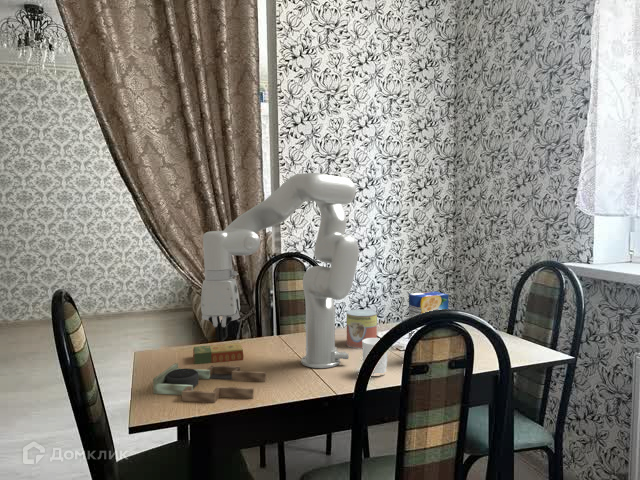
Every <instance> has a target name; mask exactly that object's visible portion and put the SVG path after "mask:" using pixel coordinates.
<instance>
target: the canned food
mask: <svg viewBox="0 0 640 480" xmlns="http://www.w3.org/2000/svg"><path fill="white" fill-rule="evenodd" d="M345 313H346V346H347V347H349V348H352V347H353V348H352V349H358V348H362V340H364V339H366V338H378V336H377V335H378V334H377V333H378V331H377V330H378V318H377V317H378V316H377V315H378V312H377V311H376V310H372V309H364V308H363V309H359V308H358V309H351V310H348V311H346V312H345Z"/></svg>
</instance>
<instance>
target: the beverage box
mask: <svg viewBox="0 0 640 480" xmlns="http://www.w3.org/2000/svg"><path fill="white" fill-rule="evenodd" d="M442 309H448V310H449V294H447V293H443V292H439V291H427V292H416V293H408V319H409V318H411V317H414V316H416V315H419V314H422V313H425V312H429V311H433V310H442ZM414 332H415V331H413V332H411V333H409V332H408V339H409V338H410V337H411V336H412V334H413V333H414Z"/></svg>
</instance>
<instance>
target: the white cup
mask: <svg viewBox="0 0 640 480" xmlns="http://www.w3.org/2000/svg"><path fill="white" fill-rule="evenodd" d="M379 340H380V337H377V338H366V339H364V340H362V348H363V349H362V361H363V362H364V360H365V358H366V357H367V355H368V354H369V352H370V351H371V349H372V348H373V346H374V345H375V344H376V343H377V342H378V341H379ZM388 353H389V350H388V351H387V352H386V353H385V354H384V355H383V357H382V358H381V360H380V361H379V363H378V364H377V366H376V368H375V370H374V372H373V374H374V373H384V372H386V373H387V365H388Z"/></svg>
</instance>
